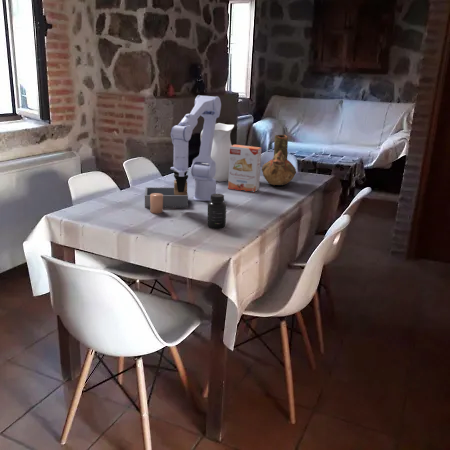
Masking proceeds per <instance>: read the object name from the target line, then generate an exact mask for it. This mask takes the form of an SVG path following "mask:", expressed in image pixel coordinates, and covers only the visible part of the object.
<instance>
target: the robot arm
mask: <svg viewBox="0 0 450 450" xmlns="http://www.w3.org/2000/svg"><path fill="white" fill-rule="evenodd" d="M221 109H222V102H221V98H220V97H219V96H218V95H216V96H210V95H200V94H198V95H197V96H196V97H195V99H194V106H193V107H192V109H191V111H190V113H186V114H185V115H184V117H183V118H181V120H180V121H179V123H178V124H177V125H176V124H175V125H173V126H172V127H171V131H170V137H171V138H170V139H171V143H172V145H173V166H171V167H170V170H172V171H173V177H174V180H176V182H177V188H178V192H184V189H185V184H186V181H187V180H188V178H189V174H188V171H189V170H190V174H191V176H192V179H194V194H192V198H193V201H196V202H197V201H201V202H203V201H205V202H206V201H207V202H210V201H211V200H210V199H211V195H212V194H217V181H216V180H215V179H213V178H214V176H215V173H216V168H215V167H216V163H215V161H214V160H213V159H212V158H211V150H212V144H213V137H214V130H215V124H217V119H219V118H220V114H221ZM200 117H202V118H203V120H204V121H203V126H202V130H203V133H202V139H201V138H200V146H199V154H198V155H197V156H196V157H194V158H193V159H192V164H191V167H190V169H189V141H190V140H191V138H192V134H193V130H194V129H195V127H197V125H198V121H199V120H198V119H199V118H200ZM202 163H207V164H202ZM208 164H209V165H208ZM187 182H188V181H187Z"/></svg>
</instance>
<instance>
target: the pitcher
mask: <svg viewBox="0 0 450 450" xmlns="http://www.w3.org/2000/svg"><path fill="white" fill-rule="evenodd" d="M234 128H235V124H225V123H221V122H218V123H217V122H216V124H215V130H214V137H213V144H212V150H211V158H212V159H213V160H214V161H215V163H216V167H215V168H216V173H215V176H214V178H213V179H215V180H216V182H227V181H228V179H229V158H230V146H232V145H233V144H232V141H231V133H232V130H233V129H234ZM202 133H203V129H202V130H201V132H200V140H201V139H202ZM201 164H207V163H201ZM208 165H209V164H208Z"/></svg>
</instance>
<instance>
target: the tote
mask: <svg viewBox="0 0 450 450" xmlns="http://www.w3.org/2000/svg"><path fill="white" fill-rule="evenodd" d="M144 189H145V190H144V208H150V194H152V193H161V194H163V209H164V208H174V209H175V208H179V209H180V208H188V207H189V194H188V192H187V195H174V187H160V186H158V187H155V186H154V187H151V186H150V187H149V186H147V187H146V186H145V188H144Z"/></svg>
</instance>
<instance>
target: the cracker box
mask: <svg viewBox="0 0 450 450" xmlns="http://www.w3.org/2000/svg"><path fill="white" fill-rule="evenodd" d="M261 161H262V147H258V146H253V145H251V146H250V145H243V144H232V146H230V158H229V179H228V180H227V181H228V182H227V183H228V184H227V185H228V187H227V189H228V190H234V189H235V191H241V190H245V191H244V192H247V191H254V192H255V191H257V190H258V191H259V189H260V177H261V163H262V162H261ZM258 191H257V192H258ZM254 192H253V193H254ZM255 193H256V192H255Z"/></svg>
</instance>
